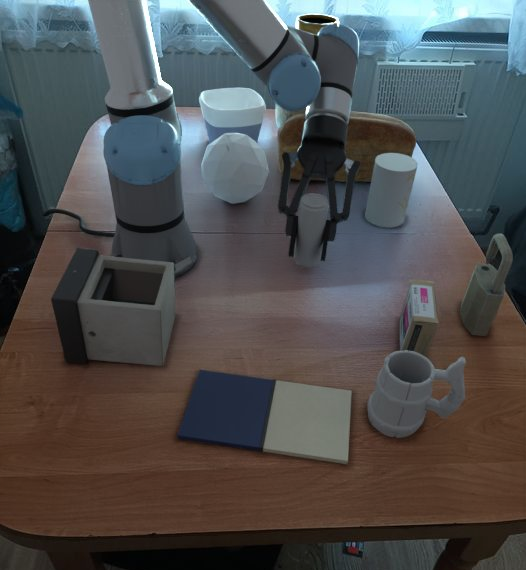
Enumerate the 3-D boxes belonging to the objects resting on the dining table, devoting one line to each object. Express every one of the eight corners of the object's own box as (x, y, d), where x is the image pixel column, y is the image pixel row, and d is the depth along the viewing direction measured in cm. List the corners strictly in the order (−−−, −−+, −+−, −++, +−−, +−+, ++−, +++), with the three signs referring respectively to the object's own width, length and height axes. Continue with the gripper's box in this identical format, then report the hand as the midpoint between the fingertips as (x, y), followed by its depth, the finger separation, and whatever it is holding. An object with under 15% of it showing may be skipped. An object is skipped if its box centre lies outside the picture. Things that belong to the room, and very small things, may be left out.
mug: (363, 393, 77) (379, 331, 68) (447, 401, 76) (473, 339, 68) (366, 437, 71) (383, 374, 63) (456, 445, 71) (486, 383, 62)
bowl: (195, 134, 139) (193, 89, 132) (252, 129, 143) (253, 85, 135) (209, 160, 129) (208, 112, 121) (270, 154, 133) (272, 107, 125)
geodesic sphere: (264, 200, 104) (270, 123, 102) (190, 194, 105) (196, 117, 103) (267, 211, 119) (273, 144, 117) (203, 206, 119) (208, 139, 118)
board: (177, 438, 70) (177, 434, 69) (199, 373, 79) (199, 368, 78) (347, 464, 68) (348, 460, 67) (350, 394, 77) (351, 390, 76)
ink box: (398, 319, 89) (410, 277, 83) (422, 322, 89) (435, 281, 83) (399, 362, 82) (411, 320, 76) (424, 365, 81) (439, 323, 76)
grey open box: (163, 372, 79) (159, 308, 71) (65, 363, 79) (50, 298, 70) (175, 318, 88) (174, 256, 80) (87, 310, 88) (76, 246, 79)
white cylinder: (403, 229, 109) (417, 173, 101) (363, 224, 110) (374, 168, 102) (404, 210, 115) (417, 155, 107) (366, 205, 116) (376, 150, 108)
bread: (411, 187, 123) (426, 128, 113) (276, 184, 122) (279, 123, 112) (401, 163, 131) (413, 106, 122) (274, 160, 130) (277, 102, 121)
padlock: (480, 304, 93) (511, 228, 82) (491, 336, 87) (526, 258, 76) (456, 303, 93) (485, 226, 82) (466, 334, 87) (498, 256, 76)
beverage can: (298, 270, 95) (305, 208, 86) (290, 254, 98) (296, 194, 90) (324, 266, 96) (333, 205, 87) (315, 251, 99) (323, 191, 91)
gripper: (375, 138, 95) (357, 268, 95) (275, 127, 97) (257, 255, 96) (381, 118, 88) (361, 259, 87) (273, 107, 89) (253, 245, 89)
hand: (306, 257), depth 92 cm, fingers closed on beverage can, 5 cm apart
